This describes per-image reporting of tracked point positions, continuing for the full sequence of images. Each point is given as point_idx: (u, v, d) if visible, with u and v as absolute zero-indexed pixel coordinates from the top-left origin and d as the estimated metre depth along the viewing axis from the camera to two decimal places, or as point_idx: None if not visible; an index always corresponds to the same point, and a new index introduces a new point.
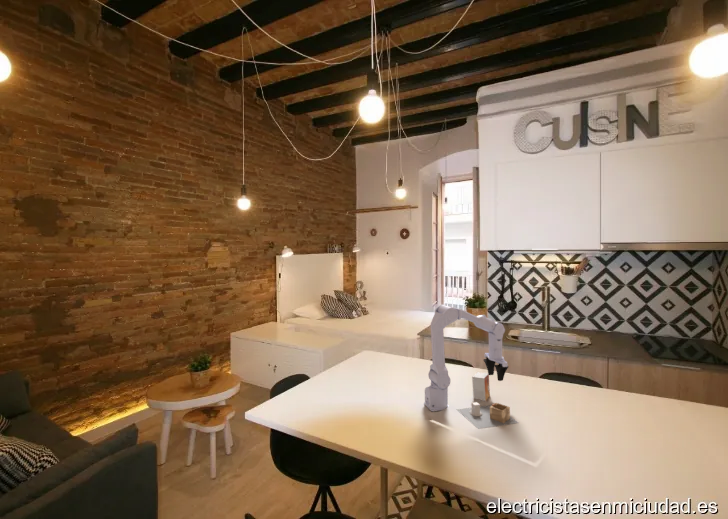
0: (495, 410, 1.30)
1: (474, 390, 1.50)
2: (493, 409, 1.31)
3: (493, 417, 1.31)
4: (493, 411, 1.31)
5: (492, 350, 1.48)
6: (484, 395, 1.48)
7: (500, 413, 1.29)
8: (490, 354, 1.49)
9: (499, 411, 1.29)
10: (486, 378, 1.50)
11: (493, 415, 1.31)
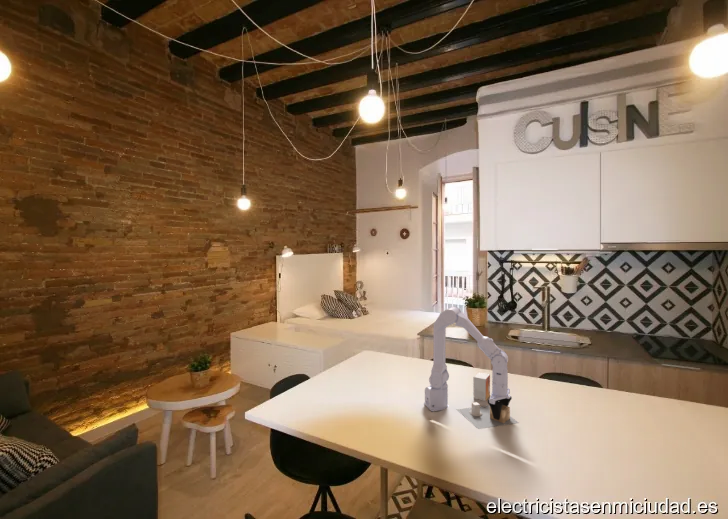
0: None
1: (475, 390, 1.50)
2: None
3: None
4: None
5: (492, 383, 1.32)
6: (484, 396, 1.48)
7: (500, 413, 1.29)
8: None
9: None
10: (487, 379, 1.50)
11: None
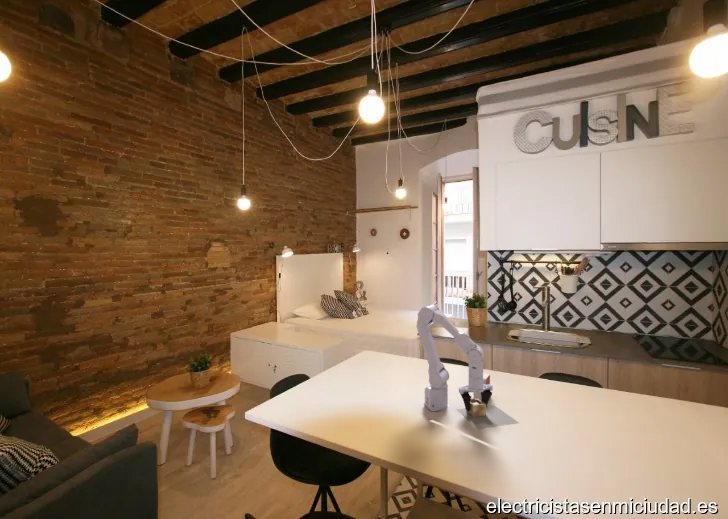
0: None
1: None
2: None
3: None
4: None
5: None
6: None
7: (471, 407, 1.34)
8: None
9: (471, 405, 1.34)
10: (487, 379, 1.50)
11: None
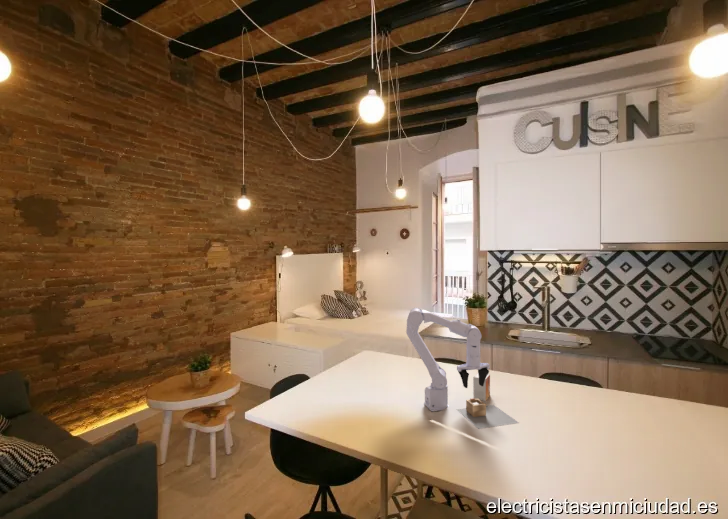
0: (469, 404, 1.36)
1: (475, 390, 1.50)
2: (468, 402, 1.36)
3: (468, 410, 1.36)
4: (468, 404, 1.36)
5: None
6: (484, 396, 1.48)
7: (471, 407, 1.34)
8: None
9: (471, 405, 1.34)
10: (487, 379, 1.50)
11: (468, 408, 1.36)
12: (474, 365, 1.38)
